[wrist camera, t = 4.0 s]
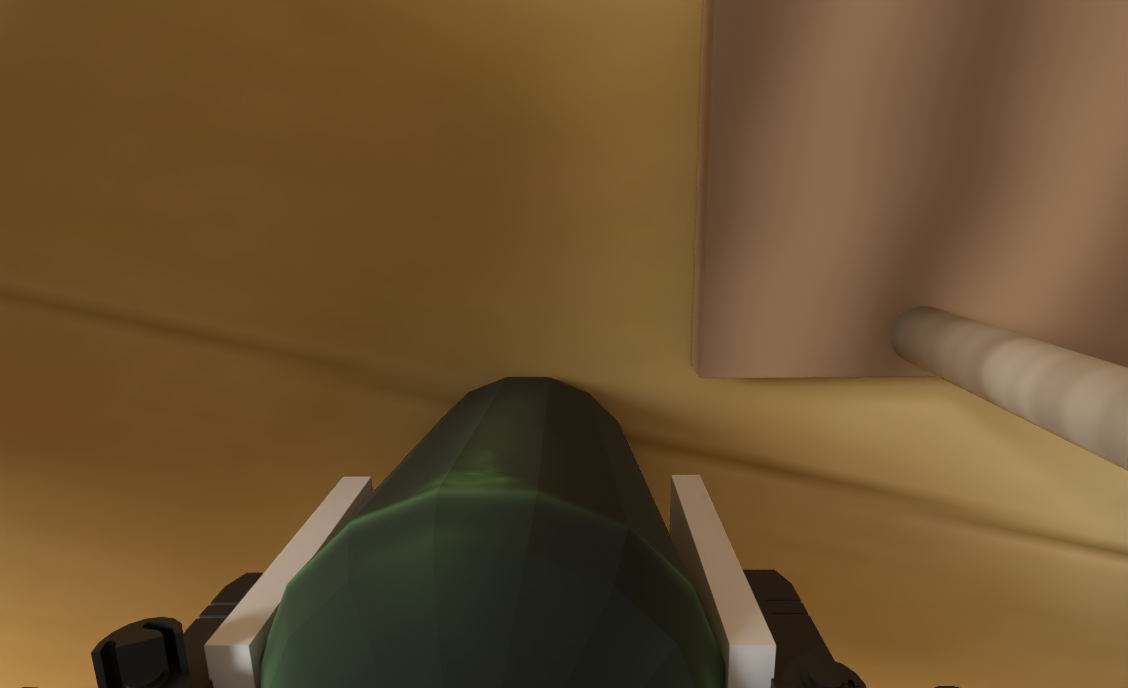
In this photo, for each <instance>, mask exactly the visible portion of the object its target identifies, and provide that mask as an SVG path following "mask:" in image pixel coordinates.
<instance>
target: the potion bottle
mask: <svg viewBox="0 0 1128 688" xmlns="http://www.w3.org/2000/svg"><path fill="white" fill-rule="evenodd" d="M260 674H261V688H724V685H725V662H724V660H723V657H722V655H721V652H720V650H719V647H718V645H717V643H716V640H715V638H714V635H713V633H712V630H711V628H710V625H709V623H708V621H707V618H706V616H705V613H704V611H703V608H702V606H701V603H700V601H699V599H698V596H697V594H696V591H695V589H694V587H693V585H692V582H691V580H690V578H689V576H688V574H687V571H686V569H685V567H684V565H683V563H682V561H681V558H680V556H679V554H678V552H677V550H676V547H675V545H674V543H673V541H672V539H671V537H670V534H669V532H668V530H667V528H666V526H665V523H664V521H663V519H662V517H661V515H660V513H659V510H658V508H657V506H656V504H655V502H654V499H653V497H652V495H651V493H650V491H649V489H648V486H647V484H646V482H645V480H644V478H643V475H642V473H641V471H640V469H639V467H638V465H637V462H636V460H635V458H634V456H633V454H632V451H631V449H630V447H629V445H628V443H627V441H626V438H625V436H624V434H623V432H622V430H621V427H620V425H619V423H618V421H617V420H615V419H614V418H613V417H612V416H611V415H610V414H609V413H608V412H607V411H606V410H605V409H604V408H603V407H602V406H601V405H600V404H599V403H598V402H597V401H596V400H595V399H594V398H593V397H592V396H591V395H590V394H589V393H587V392H584V391H582V390H579V389H577V388H574V387H572V386H569V385H567V384H564V383H562V382H560V381H557V380H555V379H552V378H546V377H507V378H504V379H501V380H499V381H496V382H494V383H491V384H489V385H486V386H484V387H481V388H479V389H476V390H473V391H471V392H469V393H468V394H467V395H466V396H465V397H464V398H463V399H462V400H460V401H459V402H458V403H457V404H456V405H455V406H454V407H453V408H452V409H451V410H450V411H449V412H448V413H447V414H446V415H445V416H444V417H443V418H442V419H441V420H440V421H439V422H438V423H437V424H436V425H435V426H434V428H433V429H432V430H431V431H430V432H429V433H428V434H427V435H426V436H425V437H424V438H423V439H422V440H421V441H420V443H419V444H418V445H417V446H416V447H415V448H414V449H413V450H412V451H411V452H410V453H409V454H408V455H407V456H406V457H405V459H404V460H403V461H402V462H401V463H400V464H399V465H398V466H397V467H396V468H395V469H394V470H393V471H392V472H391V474H390V475H389V476H388V477H387V478H386V479H385V480H384V481H383V482H382V483H381V484H380V485H379V486H378V487H377V488H376V490H375V491H374V492H373V493H372V494H371V495H370V496H369V497H368V498H367V499H366V500H365V501H364V502H363V503H362V505H361V506H360V507H359V508H358V509H357V510H356V511H355V512H354V513H353V514H352V515H351V516H350V517H349V518H348V519H347V521H346V522H345V523H344V524H343V525H342V526H341V527H340V528H339V529H338V530H337V531H336V532H335V533H334V534H333V535H332V537H331V538H330V539H329V540H328V541H327V542H326V543H325V544H324V545H323V546H322V547H321V548H320V549H319V550H318V552H317V553H316V554H315V555H314V556H313V557H312V558H311V559H310V560H309V561H308V562H307V563H306V564H305V565H304V566H303V568H302V569H301V570H300V571H299V572H298V573H297V574H296V575H295V576H294V577H293V578H292V579H291V580H290V581H289V583H288V584H287V585H286V588H285V591H284V593H283V596H282V599H281V602H280V605H279V607H278V610H277V613H276V616H275V619H274V621H273V624H272V627H271V630H270V633H269V635H268V638H267V641H266V644H265V647H264V649H263V652H262V655H261V658H260Z"/></svg>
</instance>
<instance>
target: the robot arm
mask: <svg viewBox="0 0 1128 688" xmlns="http://www.w3.org/2000/svg"><path fill="white" fill-rule="evenodd" d="M372 493H373V491H372V480H371V477H343V478H342V479H341V480H340V481H339V482H338V484H337V485H336V486H335V487H334V488H333V490H332V491H331V492H330V493H329V494H328V496H327V497H326V498H325V499H324V501H323V502H322V503H321V504H320V505H319V507H318V508H317V509H316V510H315V511H314V513H313V514H312V515H311V516H310V518H309V519H308V520H307V521H306V522H305V524H304V525H303V526H302V527H301V528H300V530H299V531H298V532H297V533H296V535H295V536H294V537H293V538H292V539H291V541H290V542H289V543H288V544H287V545H286V547H285V548H284V549H283V550H282V551H281V553H280V554H279V555H278V556H277V558H276V559H275V560H274V561H273V562H272V564H271V565H270V566H269V567H268V568H267V570H266V571H265V572H264V573H246V574H244V575H242V576H241V577H239V578H238V579H236V580H235V581H233V582H232V583H230V584H229V585H227V586H225V587H224V589H223V590H222V591H221V592H220V593H219V594H218V595H217V596H216V598H215V599H214V600H213V601H212V602H211V606H207V608H206V609H205V610H204V611H203V612H202V613H201V614H200V616H199V619H196V620H195V621H194V622H193V623H192V624H191V625H190V627H189V628H188V629H187V630H186V631H185V632H184V633H183V630H182V624H181V623H180V622H178V621H177V620H176V619H174V618H166V617H157V618H149V619H144V620H141V621H138V622H135V623H131V624H128V625H126V626H124V627H122V628H120V629H118V630H116V631H114V632H112V633H111V634H110V635H108V636H107V637H106V638H104V639H103V640H102V641H100V642H99V643H98V644H97V646H96V647H95V648H94V650H93V651H92V652H91V655H92V660H93V665H94V670H95V674H96V679H97V684H98V688H261V674H260V658H261V655H262V652H263V649H264V647H265V644H266V641H267V638H268V635H269V633H270V630H271V627H272V624H273V621H274V619H275V616H276V613H277V610H278V607H279V605H280V602H281V599H282V596H283V593H284V591H285V588H286V585H287V584H288V583H289V581H290V580H291V579H292V578H293V577H294V576H295V575H296V574H297V573H298V572H299V571H300V570H301V569H302V568H303V566H304V565H305V564H306V563H307V562H308V561H309V560H310V559H311V558H312V557H313V556H314V555H315V554H316V553H317V552H318V550H319V549H320V548H321V547H322V546H323V545H324V544H325V543H326V542H327V541H328V540H329V539H330V538H331V537H332V535H333V534H334V533H335V532H336V531H337V530H338V529H339V528H340V527H341V526H342V525H343V524H344V523H345V522H346V521H347V519H348V518H349V517H350V516H351V515H352V514H353V513H354V512H355V511H356V510H357V509H358V508H359V507H360V506H361V505H362V503H363V502H364V501H365V500H366V499H367V498H368V497H369V496H370V495H371V494H372ZM670 537H671V539H672V541H673V543H674V545H675V547H676V550H677V552H678V554H679V556H680V558H681V561H682V563H683V565H684V567H685V569H686V571H687V574H688V576H689V578H690V580H691V582H692V585H693V587H694V589H695V591H696V594H697V596H698V599H699V601H700V603H701V606H702V608H703V611H704V613H705V616H706V618H707V621H708V623H709V625H710V628H711V630H712V633H713V635H714V638H715V640H716V643H717V645H718V647H719V650H720V652H721V655H722V657H723V660H724V662H725V685H724V688H866V685H865V683H864V682H863V681H862V680H861V679H860V677H859V676H858V675H857V674H856V673H855V672H853V671H852V670H850V669H849V668H847V667H846V666H845V665H843V664H841V663H838V662H836V661H834V659H833V657H832V655H831V654H830V652H829V650H828V648H827V646H826V645H825V643H824V641H823V639H822V637H821V636H820V634H819V632H818V630H817V628H816V627H815V625H814V623H813V621H812V619H811V618H810V616H808V612H807V610H806V609H805V607H804V605H803V603H801V600H800V598H799V596H798V594H797V593H796V591H795V589H794V587H793V585H792V584H791V583H790V582H789V581H788V580H786V579H785V578H784V577H783V576H781V575H780V574H779V573H778V572H776V571H775V570H742V568H741V565H740V563H739V561H738V559H737V556H736V554H735V552H734V550H733V548H732V545H731V543H730V541H729V539H728V536H727V534H726V532H725V530H724V527H723V525H722V523H721V521H720V518H719V516H718V514H717V512H716V510H715V507H714V505H713V503H712V501H711V498H710V496H709V494H708V492H707V489H706V487H705V485H704V483H703V480H702V478H701V476H700V475H671V508H670ZM23 688H35V687H23ZM935 688H959V687H955V686H937V687H935Z"/></svg>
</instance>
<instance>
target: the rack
mask: <svg viewBox="0 0 1128 688" xmlns="http://www.w3.org/2000/svg"><path fill="white" fill-rule="evenodd" d="M691 365H692V367H693V368H694V369H695V371H696V372H697V374H698V375H699V377H700V378H792V377H912V376H938V377H940V378H942V379H944V380H946V381H948V382H950V383H952V384H954V385H956V386H958V387H960V388H962V389H964V390H967V391H969V392H971V393H973V394H975V395H977V396H979V397H981V398H983V399H985V400H987V401H989V402H991V403H993V404H995V405H997V406H999V407H1001V408H1003V409H1005V410H1007V411H1009V412H1011V413H1013V414H1015V415H1017V416H1019V417H1021V418H1023V419H1025V420H1027V421H1029V422H1031V423H1033V424H1035V425H1037V426H1039V427H1041V428H1043V429H1045V430H1047V431H1049V432H1051V433H1053V434H1055V435H1057V436H1059V437H1061V438H1063V439H1065V440H1067V441H1069V442H1071V443H1073V444H1075V445H1077V446H1079V447H1081V448H1083V449H1085V450H1087V451H1089V452H1091V453H1093V454H1095V455H1097V456H1099V457H1101V458H1103V459H1105V460H1107V461H1109V462H1111V463H1113V464H1115V465H1117V466H1119V467H1121V468H1124V469H1126V470H1128V0H703V19H702V50H701V80H700V110H699V140H698V171H697V201H696V231H695V262H694V292H693V322H692V353H691Z"/></svg>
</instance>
